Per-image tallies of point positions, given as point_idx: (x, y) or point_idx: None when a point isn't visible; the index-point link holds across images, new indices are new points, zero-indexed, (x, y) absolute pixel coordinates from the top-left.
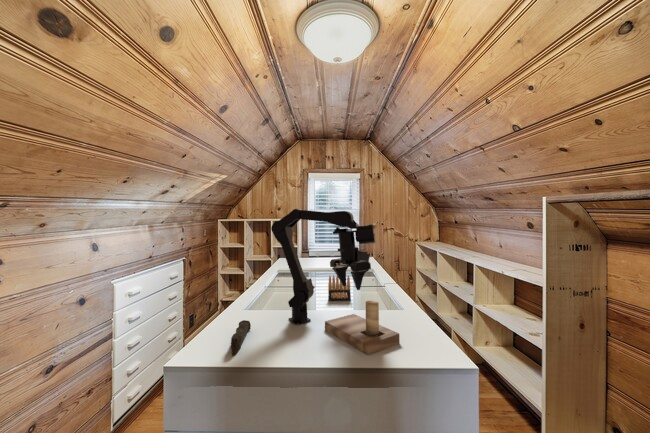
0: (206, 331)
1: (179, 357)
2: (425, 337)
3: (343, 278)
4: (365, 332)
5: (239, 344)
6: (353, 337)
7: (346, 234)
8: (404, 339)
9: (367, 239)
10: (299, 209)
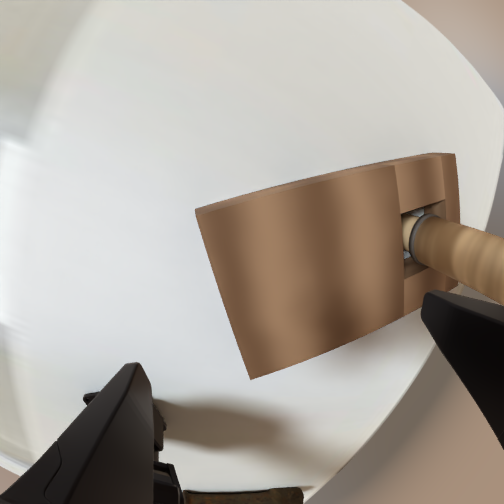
0: None
1: None
2: (420, 53)
3: (128, 457)
4: (418, 263)
5: (283, 495)
6: (413, 309)
7: None
8: (418, 117)
9: None
10: None
